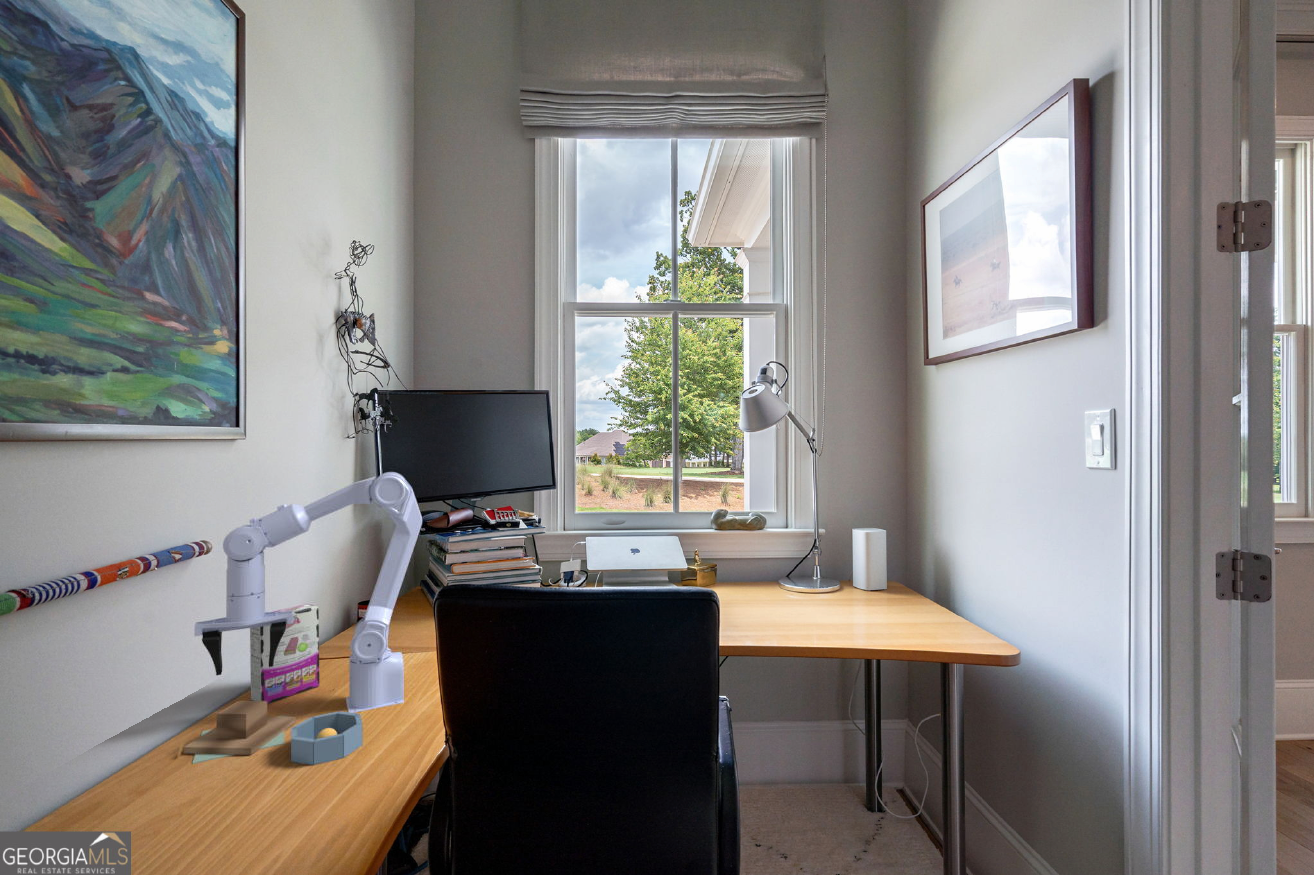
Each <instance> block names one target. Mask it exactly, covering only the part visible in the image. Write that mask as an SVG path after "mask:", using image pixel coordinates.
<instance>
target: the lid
mask: <svg viewBox="0 0 1314 875" xmlns="http://www.w3.org/2000/svg"><path fill="white" fill-rule="evenodd" d="M294 724H296V717H295V716H285V717H278V716H268V704H267V701H252V700H238V701H235V702H234V703H232V704H230V705H229V706H227V707H225V708H224V709H221V711H218V712H217V713H216V726H215V727H214V728H212V729H210V730H211V731H209V732H207V733H206V734H204V735H202V736H201V735H200V736H199V737H198V738H196V739H194V740H193V741H190V743H188V744H186V745H185V746H183V754H194V755H195V754H236V755H246V756H247V755H253V754H254V753H255V752H257V751H258V749H259V750H261V749H260V748H261V747H262V746H264V745H265V744H267V743H268V742H269V741H271V740H272V739H273V738H275V737H276V736H278V735H279V734H280V733H282V732H283V731H284V732H285V731H286V730H287V729H289V728H291V726H293V725H294Z"/></svg>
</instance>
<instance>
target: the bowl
mask: <svg viewBox="0 0 1314 875" xmlns="http://www.w3.org/2000/svg"><path fill="white" fill-rule="evenodd" d="M326 728H332V729H334V730H335V731H336V732H337V735H333V736H328V737H324V738H319V739H317V736H318V734H319V733H320V732H321V731H322V730H323V729H326ZM361 746H363V720H362V716H361V713H358V712H356V713H349V712H348V711H341V710H340V711H334V712H329V713H323V714H320V715H318V714H317V715H315V716H310V717H309V718H307V719H305V720H303V721H301V722H300V723H297V724H296V725H294V726H293V727H290V762H292V763H297V764H302V765H310V766H311V765H312V766H313V765H319V764H325V763H329V762H332V761H335V760H340V759H344V758H346V757H347V756H349V755H350V754H352V753H354V752H355V751H356V750H357V749H359V748H360V747H361Z"/></svg>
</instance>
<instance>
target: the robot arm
mask: <svg viewBox="0 0 1314 875" xmlns="http://www.w3.org/2000/svg"><path fill="white" fill-rule="evenodd" d="M373 501H374V502H375V504H377V506H379V507H381V508H382V509H383V510H385V511H386V512H387V513H388V515H389V517H390V518H391V520H392V522H393V523H394V524H395V526H394V529H393V533H392V536H391V540H390V542H389V544H388V548H387V551H386V554H385V556H384V559H383V562H382V564H381V565H382V566H381V568H380V571H379V573H378V577H377V580H376V583H375V586H374V588H373V591H372V595H371V597H370V601H369V603H368V605H367V609H366V611H365V614H364V615H363V617H362V619H360V620H359V621H358V622H357V624H356V625H355V627H354V630H353V637H352V639H351V641H350V645H349V646H350V647H349V648H350V652H351V654H350V655H349V667H348V669H349V673H348V674H349V676H348V677H349V680H348V681H349V683H348V684H349V692H348V693H349V696H348V697H345V702H346V703H345V704H346V707H347V712H349V713H359V712H364V711H365V712H366V711H369V710H374V709H379V708H384V707H385V708H386V707H390V706H394V705H399V704H404V703H405V700H404V698H405V697H404V696H405V695H404V693H405V692H404V690H405V678H404V676H405V675H404V674H405V673H404V672H405V669H404V657H403V654H402V652H400V651H398V652H397V651H395V652H394V651H392V649H391V648H389V646H388V644H389V641H388V640H389V639H388V637H389V634H390V627H389V626H390V623H391V619H392V618H391V617H392V615H393V612H394V608H395V605H396V603H397V599H398V597H399V593H400V590H401V587H402V584H403V582H404V580H405V575H406V572H407V570H408V566H409V563H410V562H411V557H412V554H413V552H414V548H415V546H416V543H417V540H418V536H419V534H420V531H421V528H422V525H423V517H422V513H421V511H420V508H419V505H418V501H417V498H416V496H415V492H414V490H413V487H412V486H411V484H410V483H409V482H408V481H407V480H406V478H405V477H404V476H403V475H402V474H400V473H398V472H395V471H387V472H384V473H381V474H380V475H379V476H378V477H377V478H376V476H373V477H368V478H366V479H362V480H358V481H356V482H353V483H351V484H349V485H347V486H344V487H343V488H340V489H339V490H336V491H334V492H332V493H330V494H327V495H325V496H323V497H321V498H320V499H317V500H315V501H313V502H311V503H309V504H307V505H304V506H303V505H300V504H297V503H291V504H289V505H287V504H286V503H283V504H281V505H278V506H277V507H276V509H277V510H275V511H273V512H271V513H268V514H266V515H263V516H262V517H259V518H258V517H253V518H251V519H249V523H250V524H244V525H241V526H238V527H235V529H233V530H231V531H230V532H229V533H228V534H227V535H226V536H225V538H224V540H223V543H222V549H223V552H224V554H225V555H226V556H227V561H226V563H227V567H226V587H225V588H226V592H225V593H226V597H225V598H226V607H225V610H226V616H225V617H221V618H215V619H214V618H213V619H210V620H204V621H197V622H196V623H195V624H194V637H201V636H202V638H201V641H202V644H203V646H204V647H205V648H206V650H207V652H208V654H209V655H210V657H211V659H212V663H213V665H214V670H215V676H221V675H222V672H223V656H222V644H223V642H222V640H223V639H222V638H223V632H229V631H237V630H244V629H245V630H246V629H250V628H254V627H262V626H269V625H270V654H269V667H273V664H274V657H275V654H276V650H277V648H278V645H279V643H280V640H281V638H282V636H283V634H284V632H285V630H286V624H292V623H293V611H283V612H274V611H270V612H269V611H268V612H267V611H266V592H265V591H266V566H265V551H264V550H266V549H267V548H274V547H276V546H279V545H281V544H283V543H285V542H287V541H290V540H291V539H293V538H296V537H298V536H300V535H302V534H305V533H307V532H308V531H309V529H310V527H311V523H312V522H313V521H316V520H318V519H320V518H322V517H325V516H328V515H330V514H332V513H334V512H335V513H336V512H337V511H339V510H342V509H344V508H347V507H348V506H351V505H353V504H360V505H371V503H372V502H373Z"/></svg>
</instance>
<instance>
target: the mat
mask: <svg viewBox="0 0 1314 875" xmlns="http://www.w3.org/2000/svg"><path fill="white" fill-rule="evenodd" d="M277 717H286V716H285V714H284V715H279V716H277ZM211 730H212V729H209V730H208V729H207V730H203V731H201V734H200V737H201V736H202V735H204V734H206V733H207V732H209V731H211ZM281 745H285V731H283V732H282V733H280V734H279V735H278V736H276V737H275V738H273V739H272V740H271V741H269V742H268V743H267V744H265V745H264V746H262V747H261V748H260V749H258V750H263V749H267V748H272V747H279V746H281ZM258 750H257V751H258ZM236 755H237V754H194V756H193V760H192V764H193V765H194V764H198V763H203V762H208V761H212V760H216V759H217V760H218V759H221V758H222V759H223V758H228V757H230V756H236Z"/></svg>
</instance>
